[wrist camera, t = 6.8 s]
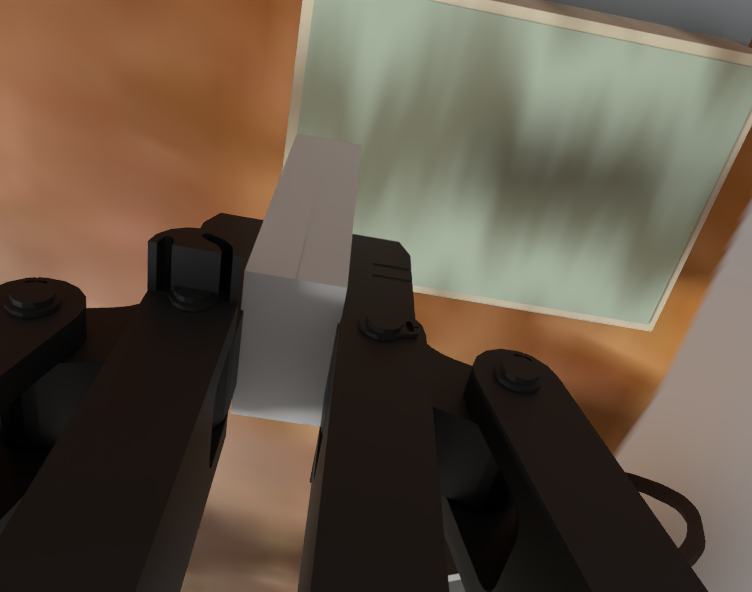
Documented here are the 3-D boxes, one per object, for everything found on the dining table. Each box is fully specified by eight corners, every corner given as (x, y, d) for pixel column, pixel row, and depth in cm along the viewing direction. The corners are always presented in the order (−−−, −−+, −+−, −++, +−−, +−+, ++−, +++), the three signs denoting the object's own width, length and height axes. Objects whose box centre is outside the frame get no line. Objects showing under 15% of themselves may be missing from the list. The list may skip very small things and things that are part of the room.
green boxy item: (306, -38, 17) (784, 61, 18) (318, -47, 20) (725, 38, 21) (270, 269, 21) (652, 333, 22) (284, 222, 24) (620, 280, 25)
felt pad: (357, -119, 19) (357, -119, 19) (774, -27, 20) (781, -26, 20) (301, 268, 26) (300, 273, 25) (618, 321, 27) (621, 326, 26)
